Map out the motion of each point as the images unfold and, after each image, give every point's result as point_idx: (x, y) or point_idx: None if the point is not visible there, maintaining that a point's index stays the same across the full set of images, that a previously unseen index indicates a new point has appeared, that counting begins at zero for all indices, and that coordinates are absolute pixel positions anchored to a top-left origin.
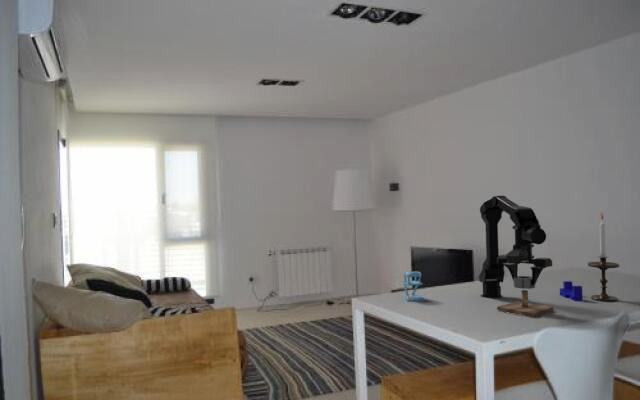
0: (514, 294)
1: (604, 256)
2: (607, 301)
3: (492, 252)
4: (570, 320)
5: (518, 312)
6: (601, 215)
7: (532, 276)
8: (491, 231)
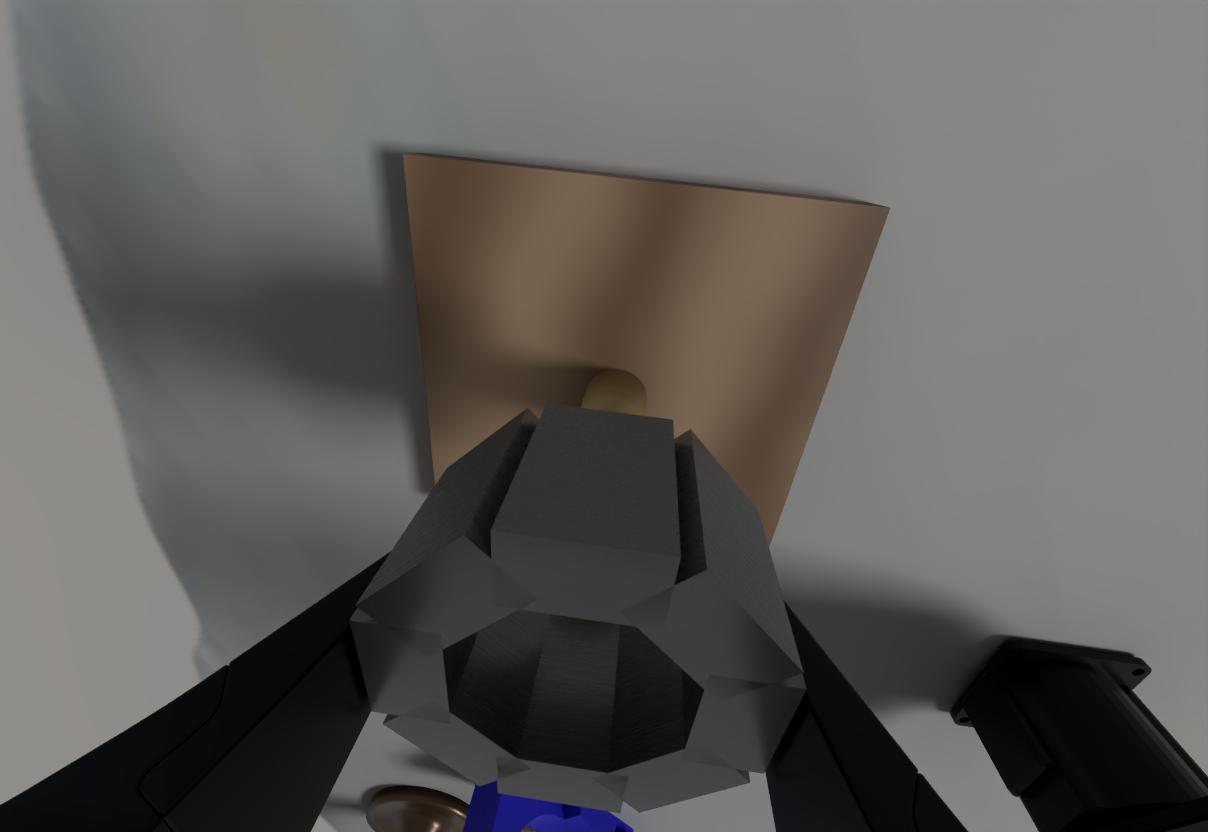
0: None
1: None
2: (388, 789)
3: None
4: (177, 283)
5: (595, 174)
6: None
7: (278, 678)
8: None
